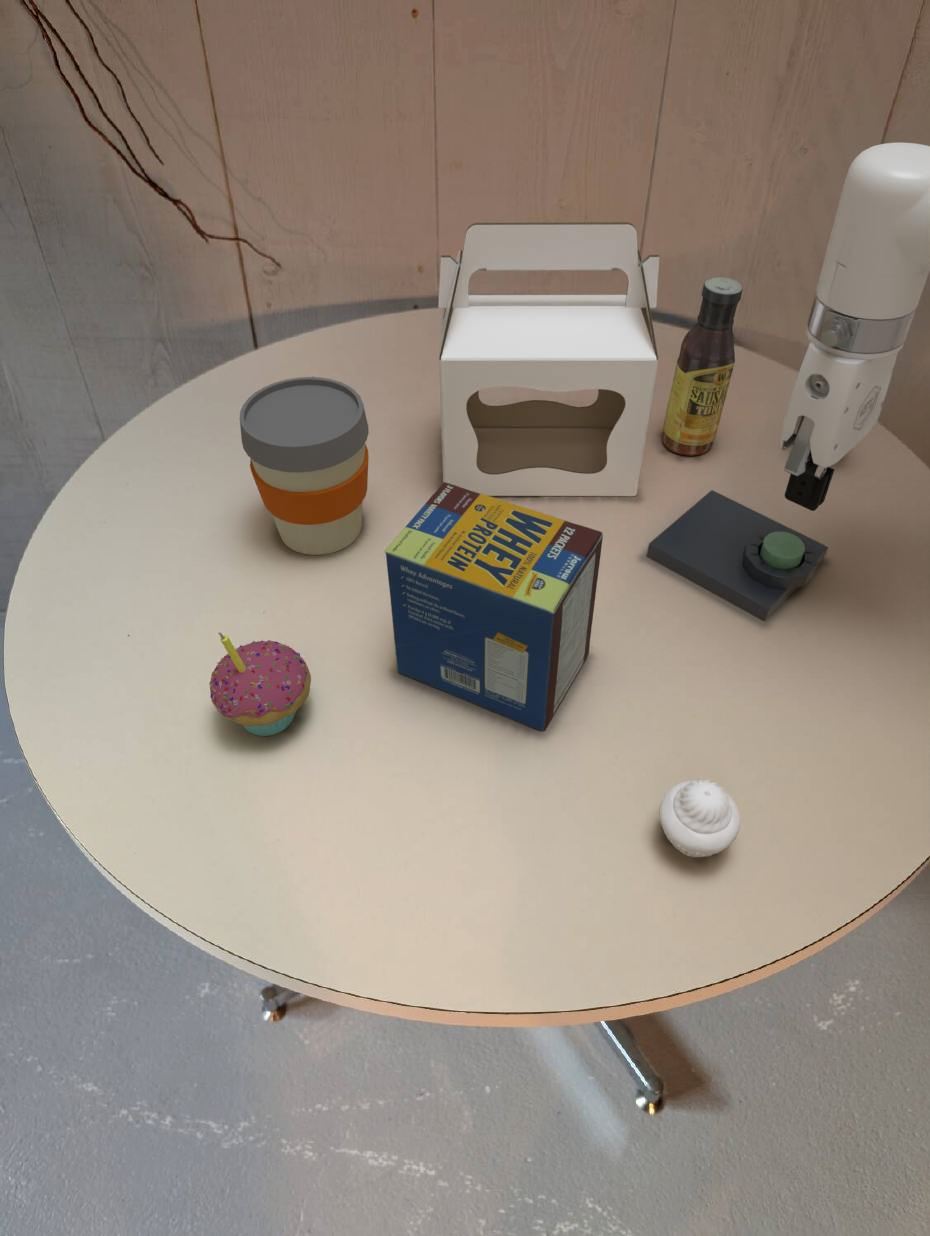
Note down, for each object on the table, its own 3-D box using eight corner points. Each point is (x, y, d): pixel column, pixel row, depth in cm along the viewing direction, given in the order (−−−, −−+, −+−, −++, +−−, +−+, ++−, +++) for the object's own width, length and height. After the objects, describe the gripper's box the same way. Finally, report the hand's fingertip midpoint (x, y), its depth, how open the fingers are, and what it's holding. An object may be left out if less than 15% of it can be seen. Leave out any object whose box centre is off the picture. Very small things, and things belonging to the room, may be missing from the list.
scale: (832, 564, 94) (841, 539, 92) (773, 627, 88) (781, 601, 86) (708, 502, 101) (714, 477, 99) (646, 556, 95) (650, 531, 93)
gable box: (626, 429, 111) (659, 195, 91) (638, 497, 102) (678, 254, 82) (445, 428, 112) (438, 195, 91) (441, 497, 103) (432, 254, 82)
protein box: (447, 602, 91) (442, 478, 80) (590, 655, 86) (606, 531, 75) (394, 673, 85) (381, 550, 74) (544, 735, 80) (555, 612, 68)
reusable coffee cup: (266, 574, 94) (238, 456, 83) (260, 499, 103) (234, 383, 92) (386, 557, 96) (374, 439, 85) (370, 484, 104) (357, 368, 93)
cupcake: (242, 768, 78) (212, 679, 69) (206, 702, 83) (174, 611, 74) (332, 725, 81) (314, 634, 72) (292, 663, 86) (271, 571, 77)
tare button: (808, 555, 91) (812, 543, 90) (788, 575, 89) (792, 564, 88) (772, 537, 93) (776, 525, 92) (752, 557, 91) (755, 545, 90)
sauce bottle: (679, 464, 106) (711, 305, 92) (650, 435, 110) (676, 279, 96) (726, 450, 108) (764, 292, 94) (696, 422, 112) (728, 266, 98)
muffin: (746, 860, 71) (766, 813, 66) (676, 885, 70) (692, 838, 65) (705, 796, 75) (722, 747, 70) (639, 819, 74) (651, 770, 69)
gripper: (859, 374, 66) (799, 559, 80) (946, 298, 74) (878, 480, 87) (767, 340, 70) (725, 522, 83) (859, 271, 77) (806, 449, 91)
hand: (803, 500), depth 85 cm, fingers closed
